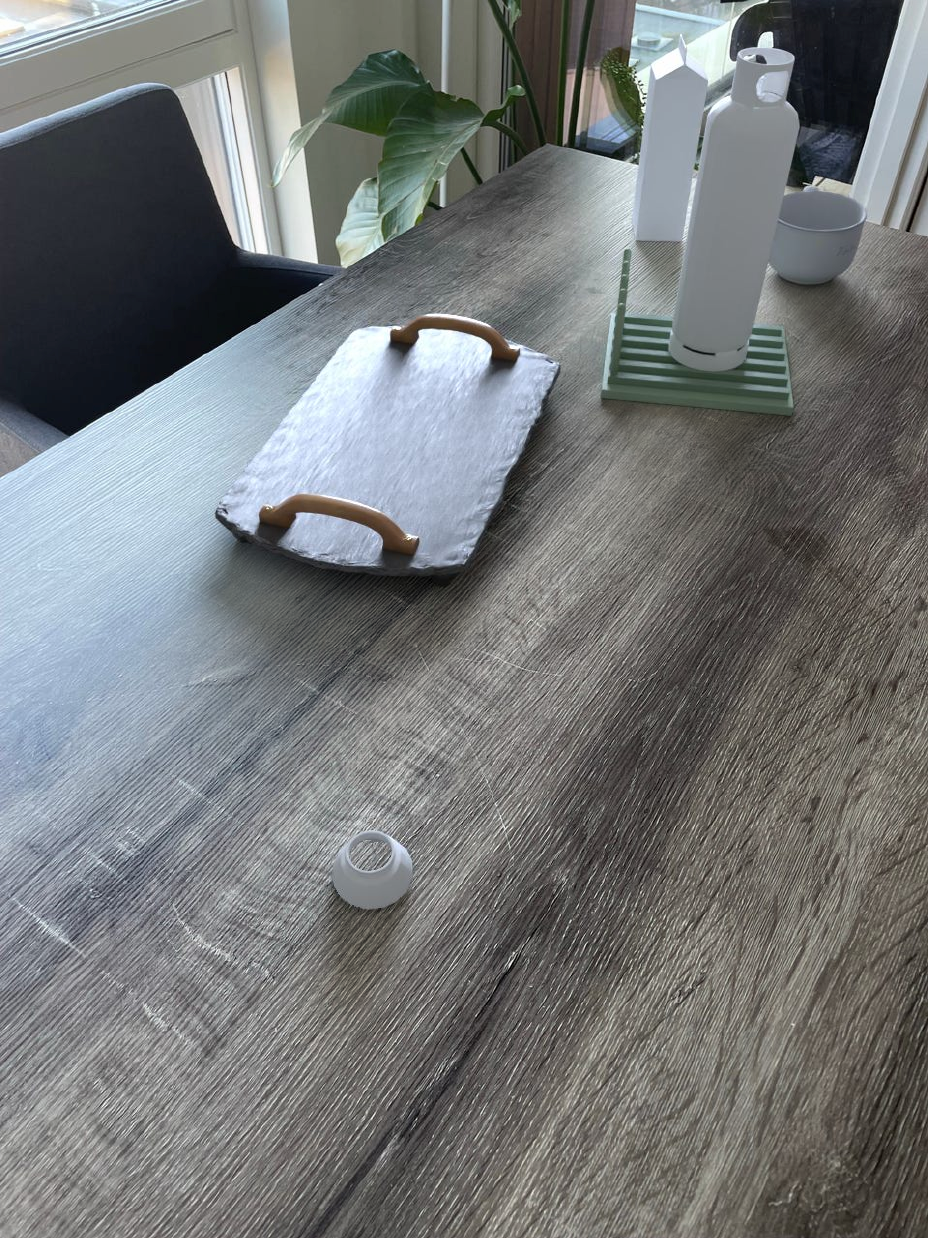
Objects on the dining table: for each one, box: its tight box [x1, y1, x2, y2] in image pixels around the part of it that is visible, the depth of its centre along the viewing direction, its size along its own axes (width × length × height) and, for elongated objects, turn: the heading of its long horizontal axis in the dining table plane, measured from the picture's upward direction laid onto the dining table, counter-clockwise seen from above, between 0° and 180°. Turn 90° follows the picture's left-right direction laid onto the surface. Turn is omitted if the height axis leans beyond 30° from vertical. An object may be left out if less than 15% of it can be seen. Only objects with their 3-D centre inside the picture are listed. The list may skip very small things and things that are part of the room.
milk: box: [631, 33, 709, 243], centre depth 121 cm, size 6×6×22 cm
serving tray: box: [214, 313, 562, 588], centre depth 92 cm, size 39×23×6 cm, turn 162°
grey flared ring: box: [331, 829, 414, 910], centre depth 62 cm, size 5×3×5 cm
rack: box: [600, 247, 795, 417], centre depth 103 cm, size 19×16×9 cm
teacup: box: [768, 185, 868, 286], centre depth 119 cm, size 14×11×8 cm
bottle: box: [668, 46, 801, 371], centre depth 95 cm, size 8×8×28 cm
